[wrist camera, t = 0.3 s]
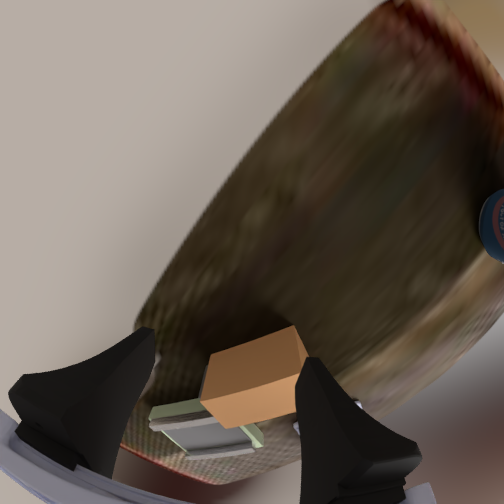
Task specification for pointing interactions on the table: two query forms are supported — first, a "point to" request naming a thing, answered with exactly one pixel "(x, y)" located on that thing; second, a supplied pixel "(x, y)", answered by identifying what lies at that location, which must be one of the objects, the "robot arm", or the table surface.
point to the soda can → (493, 225)
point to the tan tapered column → (254, 379)
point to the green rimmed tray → (203, 431)
